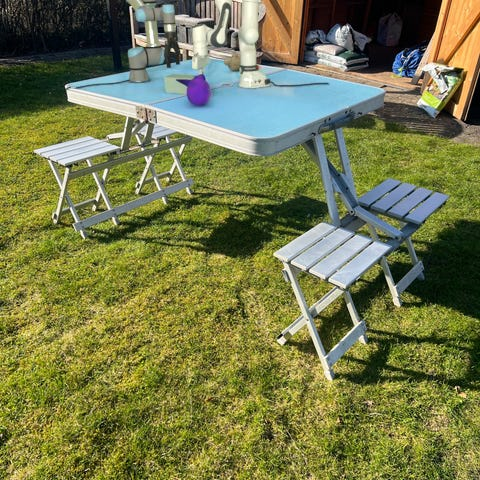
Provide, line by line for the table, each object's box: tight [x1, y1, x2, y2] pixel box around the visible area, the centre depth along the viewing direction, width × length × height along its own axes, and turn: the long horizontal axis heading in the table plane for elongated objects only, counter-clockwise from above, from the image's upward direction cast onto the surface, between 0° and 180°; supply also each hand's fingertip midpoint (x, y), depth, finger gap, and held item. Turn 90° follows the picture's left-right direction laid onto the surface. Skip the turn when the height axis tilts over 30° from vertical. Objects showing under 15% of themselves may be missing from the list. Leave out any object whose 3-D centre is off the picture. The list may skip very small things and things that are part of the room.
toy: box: [176, 74, 212, 107], centre depth 271 cm, size 16×18×27 cm
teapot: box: [223, 50, 240, 72], centre depth 366 cm, size 21×12×15 cm, turn 120°
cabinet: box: [163, 73, 198, 95], centre depth 302 cm, size 20×12×10 cm, turn 70°
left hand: (173, 66), depth 301 cm, fingers open, 13 cm apart
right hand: (201, 74), depth 294 cm, fingers closed
